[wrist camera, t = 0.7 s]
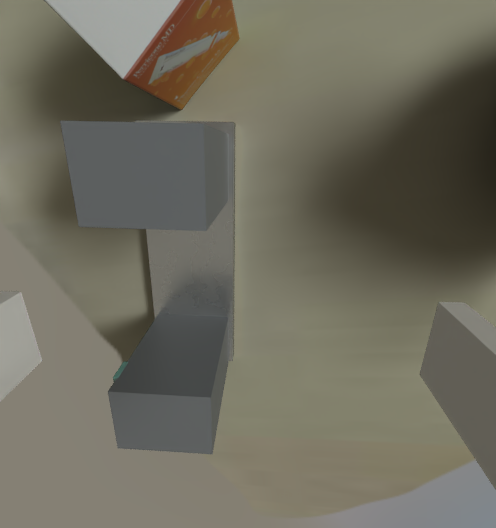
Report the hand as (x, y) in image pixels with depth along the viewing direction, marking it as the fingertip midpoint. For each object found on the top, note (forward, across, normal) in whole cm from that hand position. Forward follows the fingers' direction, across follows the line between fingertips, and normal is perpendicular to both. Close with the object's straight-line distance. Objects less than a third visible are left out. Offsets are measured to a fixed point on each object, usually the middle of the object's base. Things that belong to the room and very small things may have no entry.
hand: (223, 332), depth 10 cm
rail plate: (+23, -6, -6) cm, 25 cm away
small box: (+24, -6, +13) cm, 28 cm away
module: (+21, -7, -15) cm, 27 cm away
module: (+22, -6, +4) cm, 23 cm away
